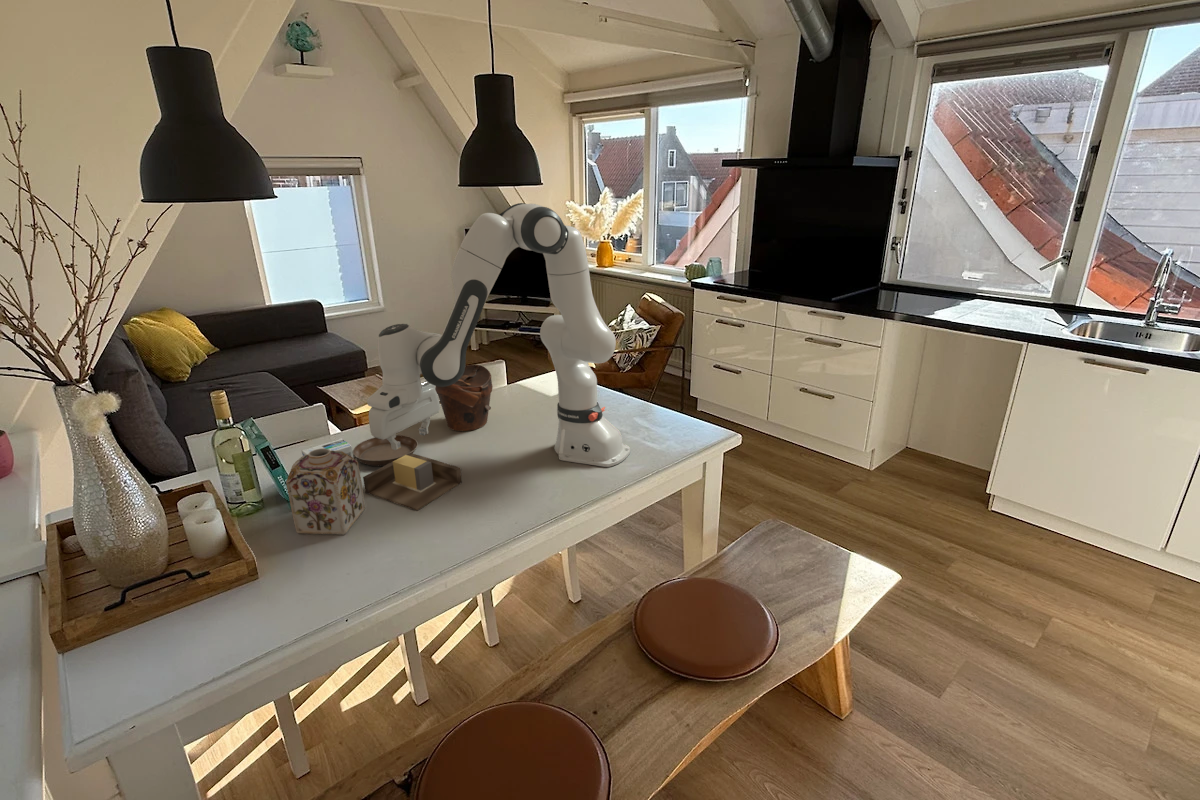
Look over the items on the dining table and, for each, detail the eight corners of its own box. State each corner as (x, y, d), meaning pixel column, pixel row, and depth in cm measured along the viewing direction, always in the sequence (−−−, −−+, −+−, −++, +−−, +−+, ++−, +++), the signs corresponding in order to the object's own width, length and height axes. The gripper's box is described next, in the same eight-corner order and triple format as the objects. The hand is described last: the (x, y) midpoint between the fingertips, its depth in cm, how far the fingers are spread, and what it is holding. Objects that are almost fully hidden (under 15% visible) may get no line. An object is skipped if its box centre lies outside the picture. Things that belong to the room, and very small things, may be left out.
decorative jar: (294, 534, 136) (279, 463, 129) (319, 507, 147) (307, 440, 140) (346, 536, 135) (333, 464, 129) (367, 508, 146) (357, 441, 140)
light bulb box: (348, 473, 163) (341, 437, 159) (358, 481, 159) (352, 444, 155) (307, 486, 156) (300, 449, 152) (317, 496, 152) (310, 457, 148)
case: (437, 439, 184) (433, 383, 177) (438, 415, 202) (434, 364, 196) (496, 434, 188) (494, 380, 181) (492, 411, 206) (489, 361, 200)
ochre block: (408, 475, 161) (405, 454, 158) (433, 483, 156) (431, 462, 154) (395, 482, 157) (392, 461, 155) (420, 490, 153) (418, 469, 151)
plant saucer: (386, 438, 185) (385, 429, 183) (431, 450, 177) (430, 440, 176) (340, 462, 170) (338, 452, 169) (387, 475, 162) (386, 465, 161)
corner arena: (461, 482, 158) (460, 467, 156) (417, 510, 145) (415, 494, 143) (412, 467, 166) (410, 452, 165) (365, 492, 153) (362, 477, 152)
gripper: (424, 375, 158) (430, 424, 163) (361, 401, 141) (370, 454, 146) (442, 379, 155) (448, 428, 160) (379, 406, 138) (388, 460, 143)
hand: (410, 441), depth 153 cm, fingers open, 8 cm apart
